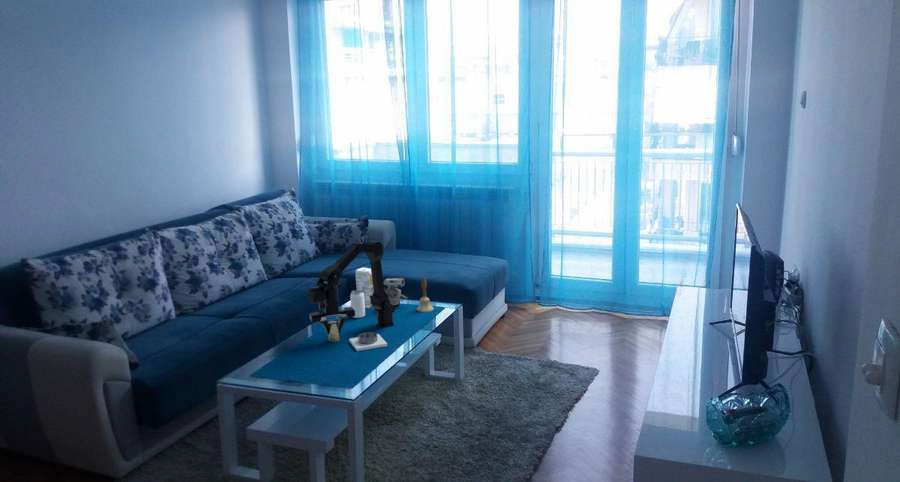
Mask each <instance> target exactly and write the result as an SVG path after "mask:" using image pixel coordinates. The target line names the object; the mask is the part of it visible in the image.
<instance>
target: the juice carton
mask: <svg viewBox="0 0 900 482" xmlns="http://www.w3.org/2000/svg"><path fill="white" fill-rule="evenodd" d="M355 286H356V290H361V291H363V294H364V302H365V309H370V308H374V307H373V306H372V304H370V302H371V301H370V295H372V294H373V292H374V289H373V281H372V273H371V268H369V267H364V266H363V267H360V268H357V269H355Z"/></svg>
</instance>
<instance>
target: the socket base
mask: <svg viewBox="0 0 900 482" xmlns="http://www.w3.org/2000/svg"><path fill="white" fill-rule="evenodd" d="M376 335H377V340H378V341H377V342H375V343H373V344H360V343H359V342H358V336H357V337H352V338H351V337H350V338H349V339H348V342H349V344H351V346H352V347H353V348H354V349H355V350H356V351H357V352H361V351H367V350H371V349H373V350H374V349H378V348H385V347H388V342H387V341H385V339H384V338H383V337H382V336H381V335H380V334H379V333H376Z"/></svg>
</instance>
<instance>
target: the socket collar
mask: <svg viewBox="0 0 900 482" xmlns="http://www.w3.org/2000/svg"><path fill="white" fill-rule="evenodd" d="M376 334H377V333H376V332H369V331H368V332H362V333H360V334H359V335H357V337H358V342H359V343H360V344H373V343H375V342H377V341H378V340H377V335H376Z"/></svg>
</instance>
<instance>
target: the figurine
mask: <svg viewBox="0 0 900 482" xmlns="http://www.w3.org/2000/svg"><path fill="white" fill-rule="evenodd" d="M383 281H384V286H386V287H388V288H385V287H384V289H385V292H386V293H387V295H388V297H389V300H390V304H392V305H393V306H395V307H400V306H401V302H402V303H403V302H404V299H405V300H408V298H410V294H408V295H407V296H405V295H404V294H402V290H401V289H399V288H402V287H403V286H404V285H405V279H404V278H403V277H400V278H399V277H398V278H397V277H396V278H385V279H384V280H383ZM401 298H402V299H401Z"/></svg>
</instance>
